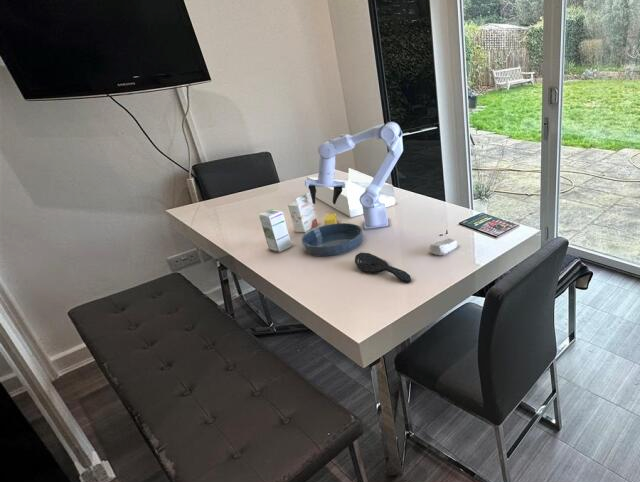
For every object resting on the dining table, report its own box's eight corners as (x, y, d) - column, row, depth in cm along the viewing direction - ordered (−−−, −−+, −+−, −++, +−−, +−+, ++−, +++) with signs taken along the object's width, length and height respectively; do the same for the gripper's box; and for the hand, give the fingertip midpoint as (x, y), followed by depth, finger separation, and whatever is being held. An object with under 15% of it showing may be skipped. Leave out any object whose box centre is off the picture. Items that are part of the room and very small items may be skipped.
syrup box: (292, 246, 154) (283, 210, 148) (278, 252, 149) (268, 216, 143) (282, 243, 156) (272, 208, 150) (268, 250, 151) (257, 214, 145)
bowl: (363, 229, 168) (362, 220, 166) (363, 251, 149) (361, 241, 147) (307, 236, 161) (305, 227, 160) (300, 261, 143) (297, 250, 141)
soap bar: (451, 253, 154) (451, 238, 154) (461, 254, 150) (461, 238, 150) (428, 254, 147) (428, 238, 147) (439, 255, 143) (439, 239, 143)
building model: (310, 194, 208) (306, 176, 204) (351, 184, 223) (348, 167, 219) (351, 217, 179) (347, 197, 175) (395, 204, 194) (392, 185, 190)
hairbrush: (399, 280, 125) (347, 255, 137) (400, 290, 127) (349, 265, 139) (419, 268, 131) (368, 246, 144) (419, 278, 133) (369, 255, 145)
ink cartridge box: (307, 223, 173) (300, 190, 168) (318, 224, 173) (310, 191, 167) (294, 231, 166) (285, 197, 160) (304, 232, 165) (296, 198, 159)
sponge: (337, 221, 175) (335, 213, 173) (336, 228, 169) (334, 219, 167) (327, 223, 174) (325, 214, 172) (326, 229, 168) (324, 220, 166)
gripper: (343, 169, 168) (340, 199, 173) (304, 167, 160) (302, 198, 165) (347, 175, 163) (344, 206, 168) (307, 173, 155) (305, 205, 160)
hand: (323, 203), depth 166 cm, fingers open, 7 cm apart
